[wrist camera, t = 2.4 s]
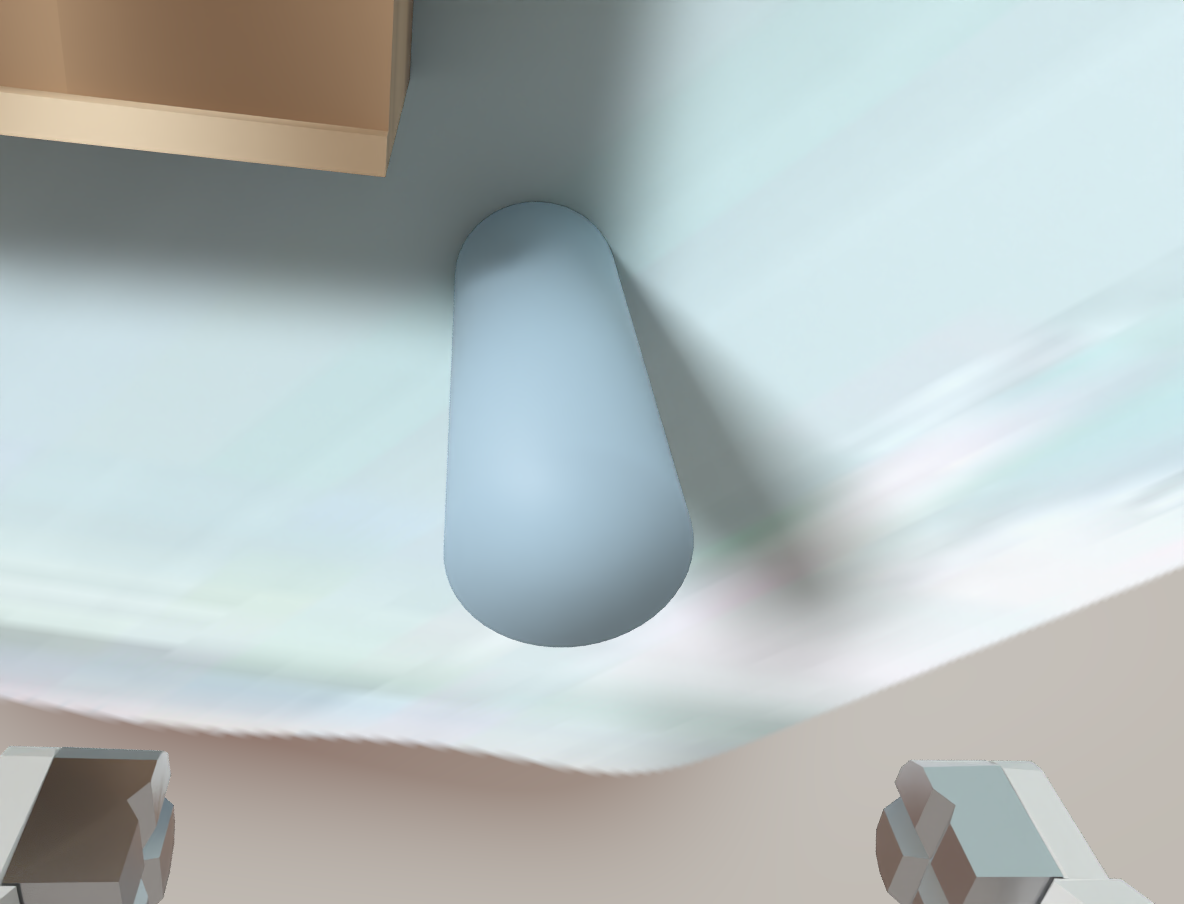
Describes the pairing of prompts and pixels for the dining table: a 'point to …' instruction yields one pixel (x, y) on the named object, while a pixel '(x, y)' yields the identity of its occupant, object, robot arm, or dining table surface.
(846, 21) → the dining table surface
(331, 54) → the socket block
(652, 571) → the dowel
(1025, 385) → the dining table surface
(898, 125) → the dining table surface
